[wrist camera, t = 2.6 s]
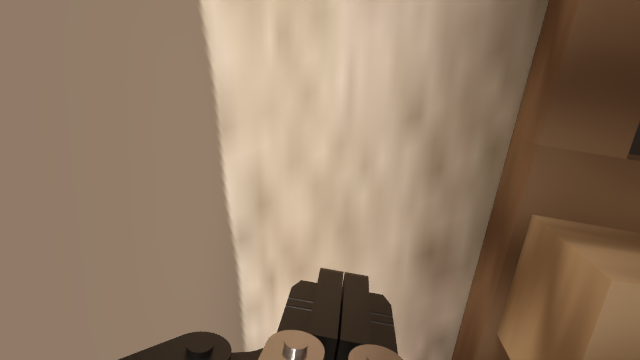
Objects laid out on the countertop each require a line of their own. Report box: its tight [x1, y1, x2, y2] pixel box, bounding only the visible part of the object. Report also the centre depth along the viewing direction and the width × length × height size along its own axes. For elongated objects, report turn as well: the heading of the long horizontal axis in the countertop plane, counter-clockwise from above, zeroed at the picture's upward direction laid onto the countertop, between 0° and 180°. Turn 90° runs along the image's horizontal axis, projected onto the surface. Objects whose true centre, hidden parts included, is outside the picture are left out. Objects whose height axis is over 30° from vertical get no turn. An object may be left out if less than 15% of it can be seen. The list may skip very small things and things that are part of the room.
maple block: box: [497, 215, 640, 360], centre depth 13 cm, size 5×5×5 cm
